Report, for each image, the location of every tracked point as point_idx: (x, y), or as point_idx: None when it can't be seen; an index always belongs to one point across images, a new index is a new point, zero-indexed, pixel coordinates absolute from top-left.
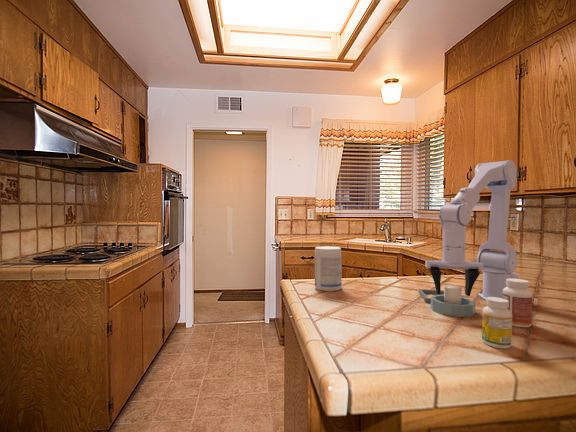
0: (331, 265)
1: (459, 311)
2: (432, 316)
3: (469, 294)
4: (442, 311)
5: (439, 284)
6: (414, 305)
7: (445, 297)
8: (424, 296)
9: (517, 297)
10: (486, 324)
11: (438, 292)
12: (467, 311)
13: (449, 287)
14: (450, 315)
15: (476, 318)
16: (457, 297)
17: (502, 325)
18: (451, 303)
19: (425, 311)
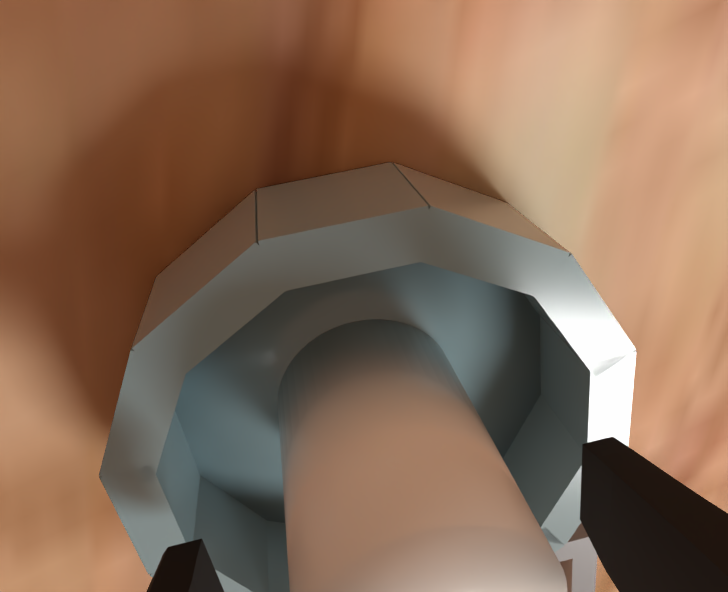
0: None
1: (313, 196)
2: (621, 41)
3: (167, 563)
4: (499, 205)
5: (716, 548)
6: (705, 366)
7: (490, 437)
8: (591, 582)
9: None
10: None
11: (623, 449)
12: (210, 248)
13: (493, 590)
14: (407, 167)
15: (109, 208)
16: (346, 438)
17: None
18: (405, 363)
19: (651, 212)
